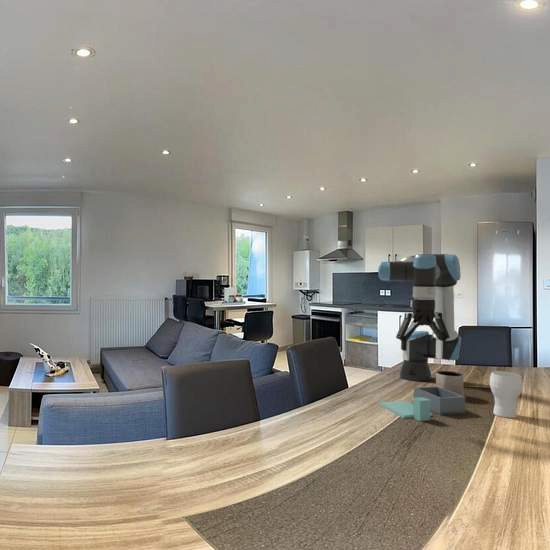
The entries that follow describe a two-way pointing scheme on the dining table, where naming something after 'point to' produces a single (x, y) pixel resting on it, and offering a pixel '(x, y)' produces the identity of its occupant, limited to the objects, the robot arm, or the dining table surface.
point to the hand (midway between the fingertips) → (422, 359)
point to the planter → (450, 381)
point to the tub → (441, 400)
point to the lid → (410, 408)
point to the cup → (505, 392)
